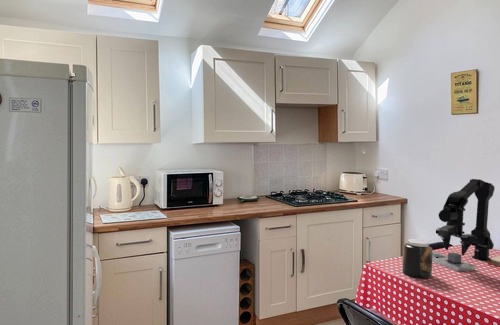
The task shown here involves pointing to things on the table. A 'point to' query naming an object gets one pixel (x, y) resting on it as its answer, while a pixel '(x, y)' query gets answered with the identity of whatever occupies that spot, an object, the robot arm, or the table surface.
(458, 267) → the metal plate with holes
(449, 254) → the dark grey block
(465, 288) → the table surface
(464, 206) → the robot arm
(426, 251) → the jar
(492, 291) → the table surface
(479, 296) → the table surface
